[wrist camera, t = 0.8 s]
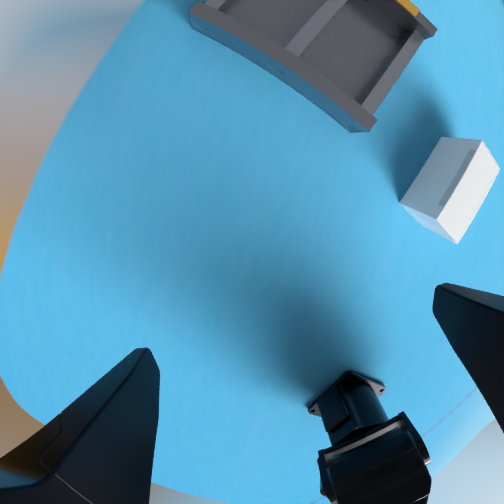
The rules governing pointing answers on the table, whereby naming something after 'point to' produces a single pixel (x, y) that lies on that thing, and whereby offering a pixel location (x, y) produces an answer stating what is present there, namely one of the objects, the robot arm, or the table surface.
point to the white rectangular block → (451, 186)
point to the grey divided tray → (323, 47)
